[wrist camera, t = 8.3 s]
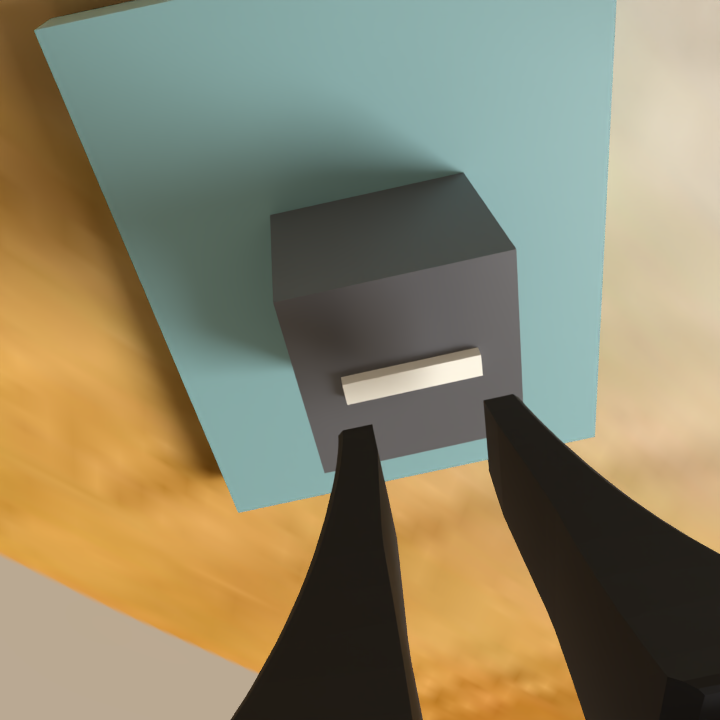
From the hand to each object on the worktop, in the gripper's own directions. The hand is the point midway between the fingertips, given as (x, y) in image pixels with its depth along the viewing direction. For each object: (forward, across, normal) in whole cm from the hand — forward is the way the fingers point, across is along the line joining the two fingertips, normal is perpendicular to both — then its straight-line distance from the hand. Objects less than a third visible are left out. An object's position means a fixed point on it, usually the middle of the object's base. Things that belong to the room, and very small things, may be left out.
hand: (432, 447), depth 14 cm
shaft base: (+8, 0, 0) cm, 8 cm away
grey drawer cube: (+7, 0, 0) cm, 7 cm away
